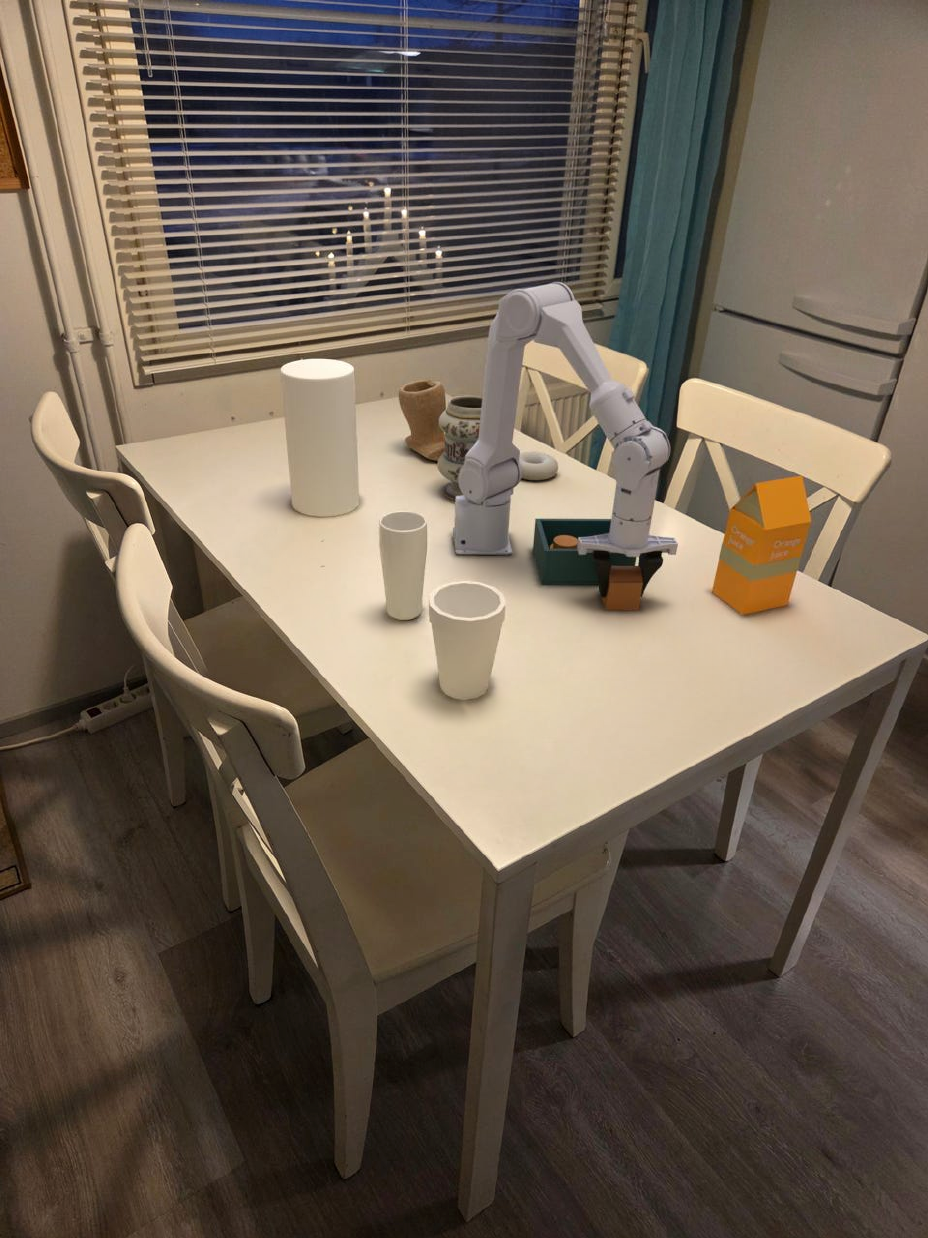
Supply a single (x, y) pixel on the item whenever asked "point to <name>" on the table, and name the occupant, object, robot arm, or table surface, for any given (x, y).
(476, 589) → the foam cup
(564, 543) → the round bread
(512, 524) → the table surface
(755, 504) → the orange juice
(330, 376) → the cylinder
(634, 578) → the square bread
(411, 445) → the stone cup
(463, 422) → the apothecary jar
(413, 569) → the drinking glass
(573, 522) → the dark green open box
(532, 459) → the donut
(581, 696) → the table surface
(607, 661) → the table surface
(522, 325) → the robot arm
